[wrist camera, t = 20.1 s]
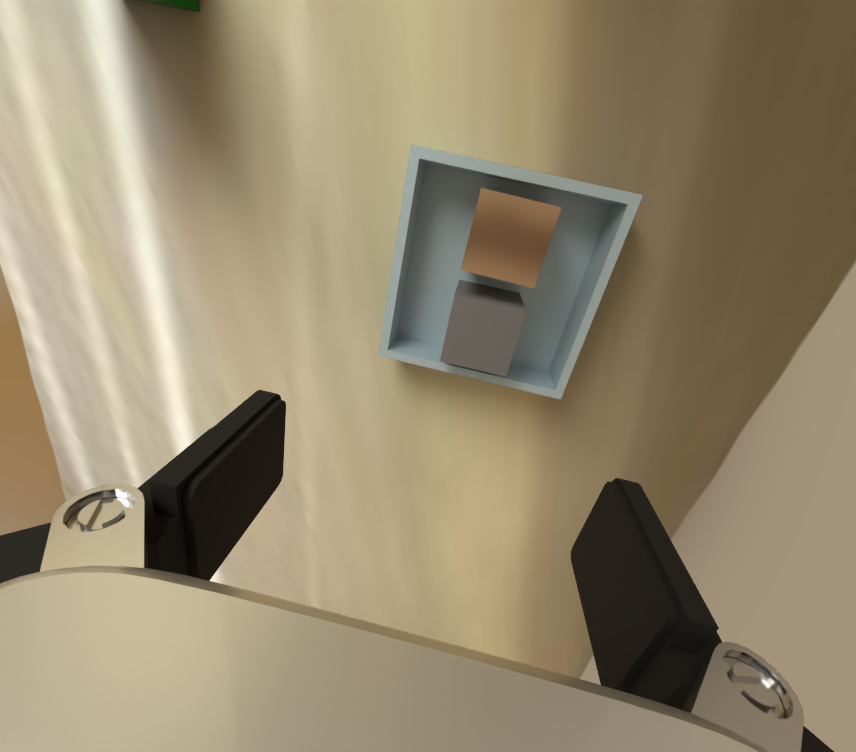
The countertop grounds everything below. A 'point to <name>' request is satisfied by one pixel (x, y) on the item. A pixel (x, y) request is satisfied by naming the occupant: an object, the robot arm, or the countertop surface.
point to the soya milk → (179, 3)
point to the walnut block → (509, 237)
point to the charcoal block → (483, 328)
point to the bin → (545, 303)
